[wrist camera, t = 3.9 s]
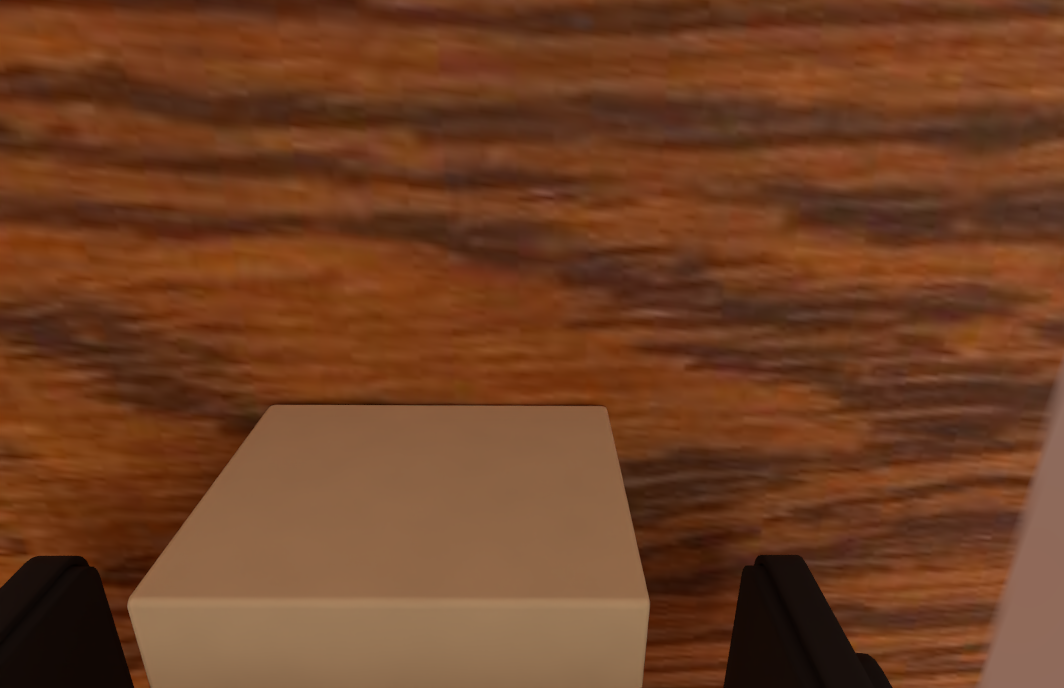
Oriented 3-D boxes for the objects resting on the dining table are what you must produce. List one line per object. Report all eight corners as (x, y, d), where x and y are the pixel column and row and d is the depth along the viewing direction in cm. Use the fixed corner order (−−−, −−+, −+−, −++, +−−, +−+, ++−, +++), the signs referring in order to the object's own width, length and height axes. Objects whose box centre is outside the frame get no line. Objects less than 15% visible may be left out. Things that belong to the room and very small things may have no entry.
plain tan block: (607, 403, 10) (652, 603, 6) (591, 694, 12) (617, 962, 9) (269, 402, 10) (120, 602, 6) (316, 694, 12) (227, 964, 9)
